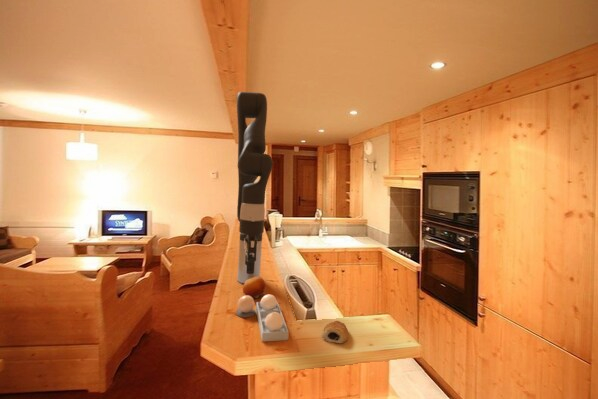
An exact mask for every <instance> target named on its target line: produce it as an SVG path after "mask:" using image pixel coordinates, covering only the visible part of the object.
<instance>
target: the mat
mask: <svg viewBox="0 0 598 399" xmlns="http://www.w3.org/2000/svg"><path fill="white" fill-rule="evenodd" d="M235 314H236V316H237V317H238V318H244V319H245V318H251V317H254V316H255V315H256V309H254V308H253V309H252V310H251V311H250V312H247V313H244V312H241V311H240V310H239V308H238V309H237V310H236V312H235Z"/></svg>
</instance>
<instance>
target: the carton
mask: <svg viewBox="0 0 598 399" xmlns="http://www.w3.org/2000/svg"><path fill="white" fill-rule="evenodd" d="M260 302H261V301H256V303H255V304H256V306H255V312H256V315H257V322H258V327H259V333H260V338H261V342H274V341H275V342H276V341H288V340H289V333H290V330H289V329H288V326H287V324H286V321H285V317H284V315H283V312H282V309H281V307H280V304H279V301H277V305H276V307H275V309H274V310H267V311H264V310H263V309H262V308H261V305H260ZM272 312H277V313H279V314H281V316H282V317H283V321H284V323H283V327H282V328H281V330H279V331H276V332H270V331H268V330H267V329H266V327H265V318H266V317H267V315H268V314H270V313H272Z"/></svg>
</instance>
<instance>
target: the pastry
mask: <svg viewBox="0 0 598 399" xmlns="http://www.w3.org/2000/svg"><path fill="white" fill-rule="evenodd" d="M322 331H323V332H322V335H321V336H322V338H323V340H324V341H326V342H329V343H335V344H344V343H346V342H347V340H348V337H349V336H348V335H349V330H348V328H347V326H346V324H345V323H343V322H341V321H339V320H334V321H331V322H328V323H326V325H325V326H324V327H323V330H322Z"/></svg>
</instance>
